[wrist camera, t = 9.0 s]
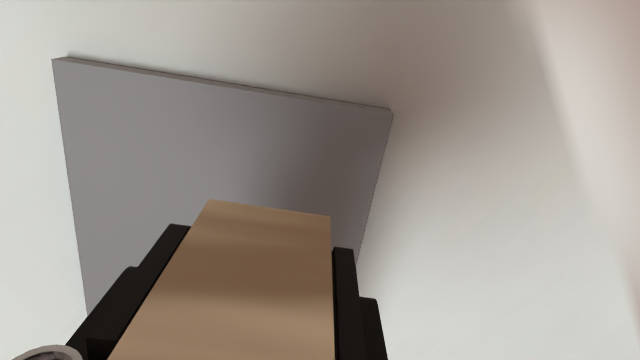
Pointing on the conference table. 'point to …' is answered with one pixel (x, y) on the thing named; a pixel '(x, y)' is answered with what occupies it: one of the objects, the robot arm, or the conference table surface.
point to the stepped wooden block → (240, 290)
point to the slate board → (203, 158)
